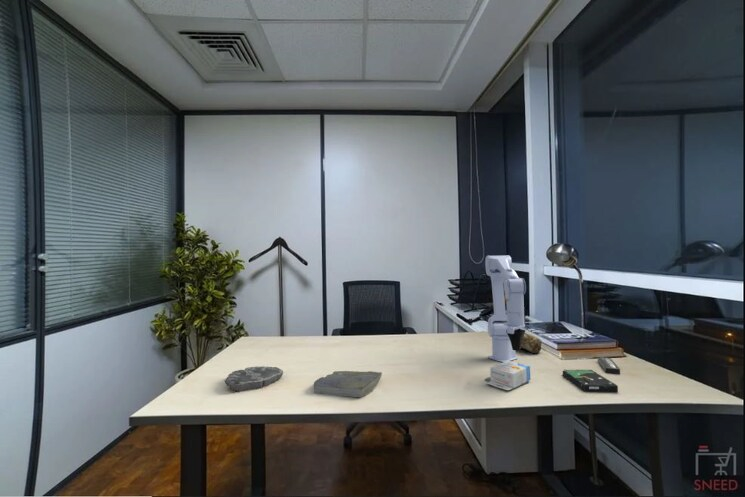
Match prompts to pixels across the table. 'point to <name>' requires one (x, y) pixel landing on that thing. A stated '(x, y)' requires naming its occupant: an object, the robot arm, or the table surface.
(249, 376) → the brain slice
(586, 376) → the disk drive
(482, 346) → the table surface
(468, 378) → the table surface
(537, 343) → the seashell
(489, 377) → the mat
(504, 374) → the ink box
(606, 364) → the multiport hub
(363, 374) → the fossil
